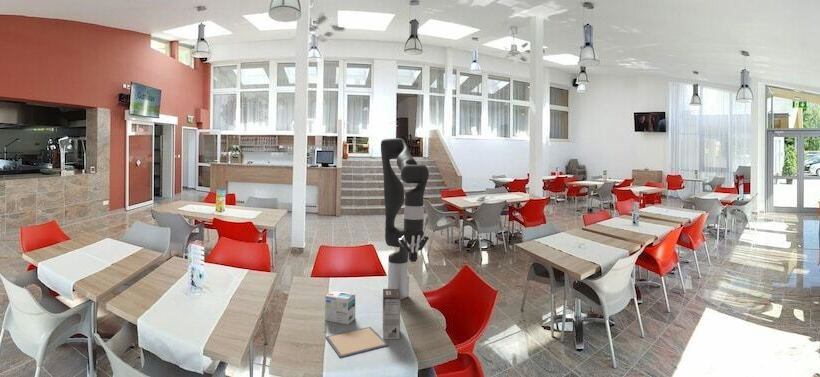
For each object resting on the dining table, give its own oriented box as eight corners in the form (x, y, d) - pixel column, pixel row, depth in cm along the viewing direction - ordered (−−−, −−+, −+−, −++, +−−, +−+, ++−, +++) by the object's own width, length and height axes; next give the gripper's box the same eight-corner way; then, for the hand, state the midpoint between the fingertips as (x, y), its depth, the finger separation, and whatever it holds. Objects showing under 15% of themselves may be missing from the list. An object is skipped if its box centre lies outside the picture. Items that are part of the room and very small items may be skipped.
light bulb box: (355, 318, 162) (356, 293, 161) (348, 325, 155) (348, 299, 154) (333, 314, 165) (333, 289, 164) (324, 321, 159) (324, 295, 158)
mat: (370, 327, 153) (370, 326, 153) (388, 345, 140) (388, 344, 140) (325, 337, 145) (325, 336, 145) (339, 357, 131) (339, 356, 131)
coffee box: (382, 328, 153) (382, 288, 152) (398, 328, 154) (399, 288, 152) (382, 339, 144) (383, 297, 143) (400, 339, 145) (400, 296, 143)
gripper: (423, 214, 156) (422, 257, 157) (393, 216, 149) (393, 261, 151) (433, 217, 149) (432, 261, 151) (403, 219, 143) (402, 266, 144)
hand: (412, 261), depth 151 cm, fingers closed
